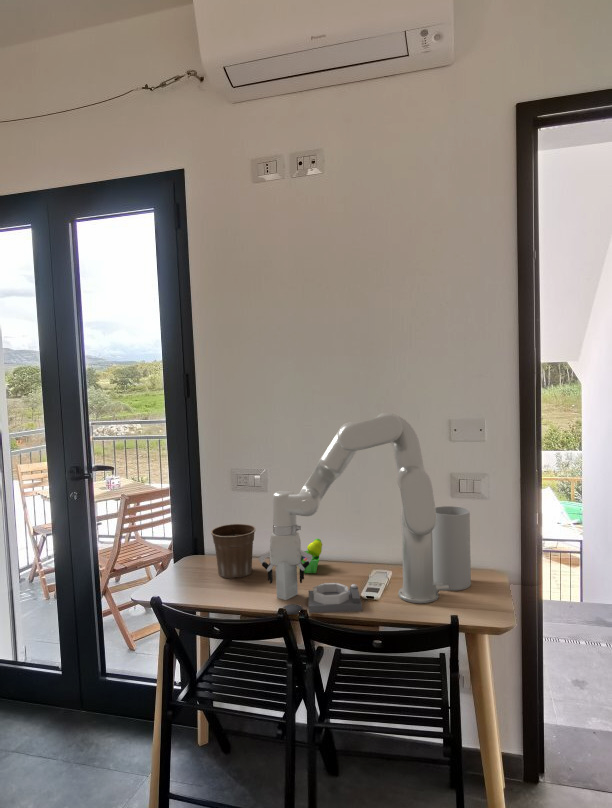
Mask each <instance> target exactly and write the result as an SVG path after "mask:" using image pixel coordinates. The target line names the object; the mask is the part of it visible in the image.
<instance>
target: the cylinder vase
mask: <svg viewBox="0 0 612 808" xmlns="http://www.w3.org/2000/svg"><path fill="white" fill-rule="evenodd" d="M435 509H436V525H435V527H434V529H433V530H432V539H433V581H434V582H435V583H443V585H448V586H449V591H464V590H467V589H469V588H470V586H471V585H472V575H471V574H472V571H471V569H472V568H471V566H472V565H471V564H472V563H471V562H472V561H471V520H470V519H471V517H470V516H471V514H470V513H471V511H470V509H468V508H466V507H461V506H452V505H451V506H449V505H446V506H443V505H442V506H435Z"/></svg>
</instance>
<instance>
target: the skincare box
mask: <svg viewBox="0 0 612 808" xmlns="http://www.w3.org/2000/svg"><path fill="white" fill-rule="evenodd" d="M297 567H298V566H297V565H289V563H288V562H280V563H279V565H278V566H275V586H276V589H275V590H276V599H277V598H278V599H280V600H283V601H287V600H289V599H291V598H293V597H295V596H297V595H298V588H299V587H298V570H297V569H298V568H297Z"/></svg>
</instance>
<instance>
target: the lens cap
mask: <svg viewBox="0 0 612 808" xmlns="http://www.w3.org/2000/svg"><path fill="white" fill-rule="evenodd" d="M282 608H285V609H286V611H287V614H286V615H298V614H300V613H299V611H300V610H301V609H302V610H303V606H302V605H300V604H295V603H292V604H291V603H290V604H286V605H284V606H283V607H282Z"/></svg>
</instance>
